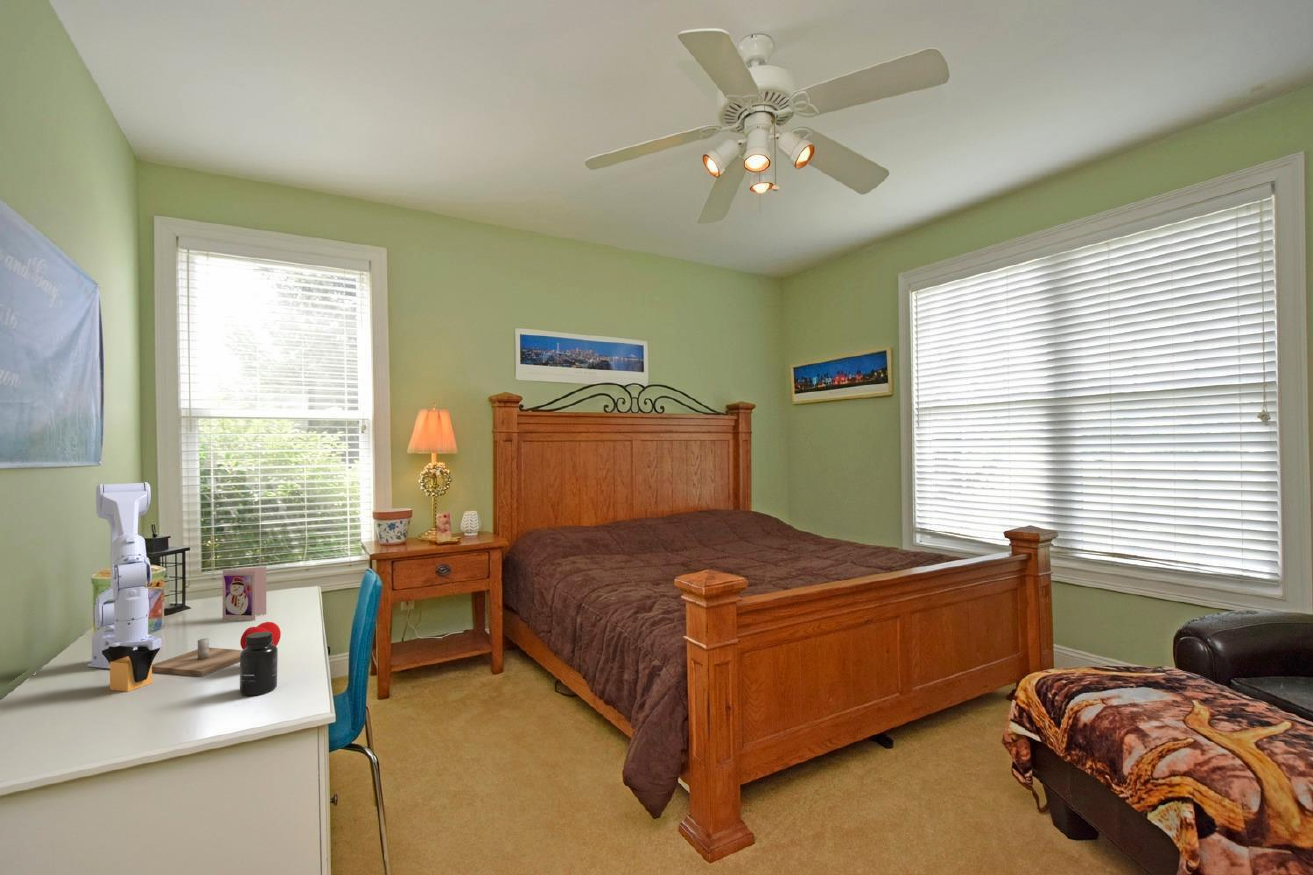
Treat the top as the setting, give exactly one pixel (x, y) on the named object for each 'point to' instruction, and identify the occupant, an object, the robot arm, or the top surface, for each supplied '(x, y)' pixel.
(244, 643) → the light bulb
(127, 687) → the orange wooden cube
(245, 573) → the greeting card
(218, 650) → the post board
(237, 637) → the top surface
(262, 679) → the supplement bottle
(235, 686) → the top surface
